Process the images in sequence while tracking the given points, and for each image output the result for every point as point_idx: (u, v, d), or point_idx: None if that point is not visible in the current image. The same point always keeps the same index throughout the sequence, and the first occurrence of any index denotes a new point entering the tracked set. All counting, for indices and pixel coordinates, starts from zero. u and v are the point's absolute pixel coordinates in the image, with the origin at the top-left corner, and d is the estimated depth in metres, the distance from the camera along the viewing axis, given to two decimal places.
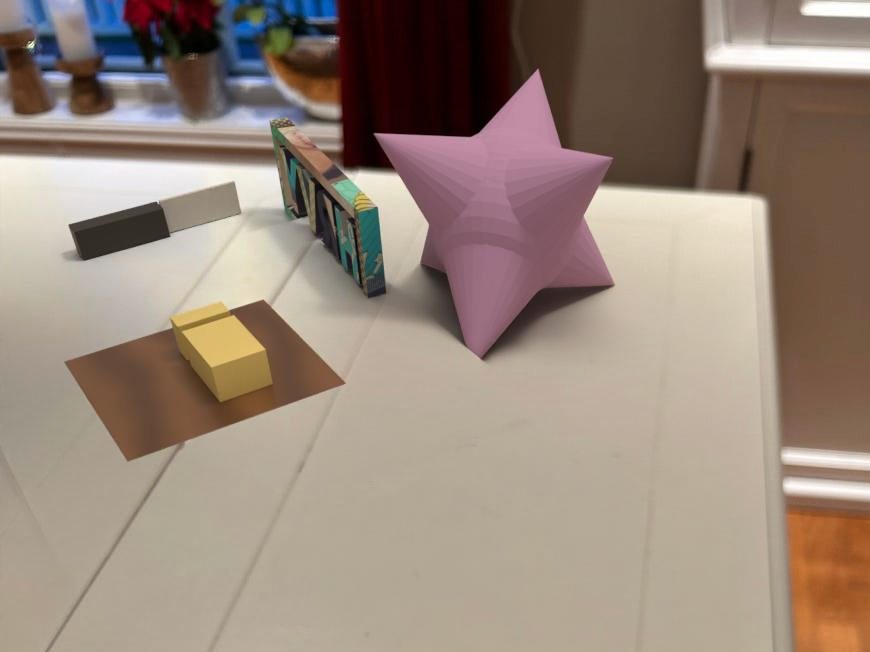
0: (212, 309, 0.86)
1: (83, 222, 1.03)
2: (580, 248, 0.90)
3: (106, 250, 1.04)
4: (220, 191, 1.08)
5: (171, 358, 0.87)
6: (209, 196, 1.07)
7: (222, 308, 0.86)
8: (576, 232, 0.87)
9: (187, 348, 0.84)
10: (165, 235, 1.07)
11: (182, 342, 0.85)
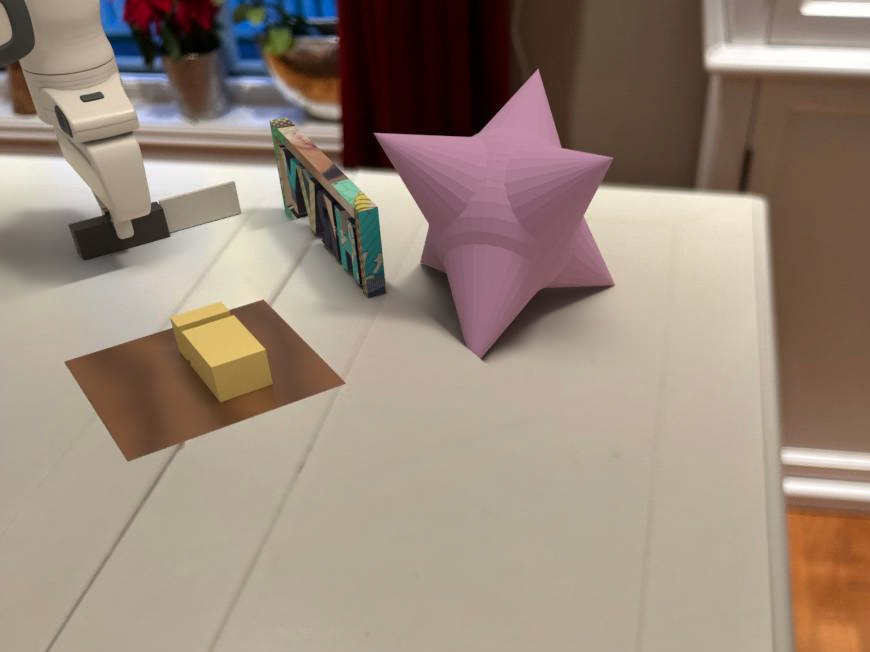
0: (212, 309, 0.86)
1: (83, 222, 1.03)
2: (580, 248, 0.90)
3: (106, 250, 1.04)
4: (220, 191, 1.08)
5: (171, 358, 0.87)
6: (209, 196, 1.07)
7: (222, 308, 0.86)
8: (576, 232, 0.87)
9: (187, 348, 0.84)
10: (165, 235, 1.07)
11: (182, 342, 0.85)
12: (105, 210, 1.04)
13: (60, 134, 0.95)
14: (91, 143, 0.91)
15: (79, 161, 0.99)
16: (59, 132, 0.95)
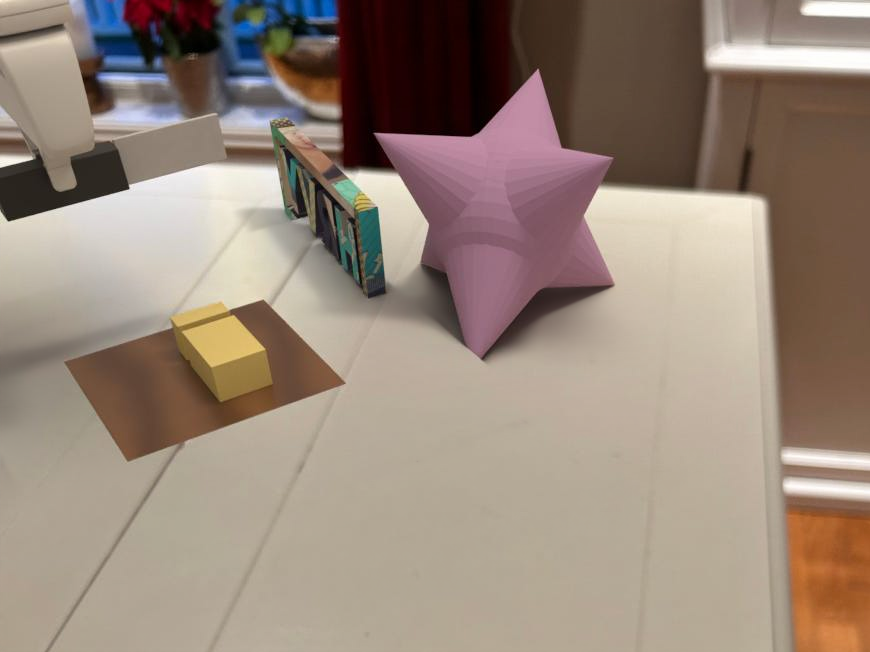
0: (212, 309, 0.86)
1: (6, 168, 0.74)
2: (580, 248, 0.90)
3: (40, 208, 0.75)
4: (197, 127, 0.79)
5: (171, 358, 0.87)
6: (182, 134, 0.78)
7: (222, 308, 0.86)
8: (576, 232, 0.87)
9: (187, 348, 0.84)
10: (122, 187, 0.78)
11: (182, 342, 0.85)
12: (36, 152, 0.75)
13: None
14: (2, 40, 0.61)
15: None
16: None
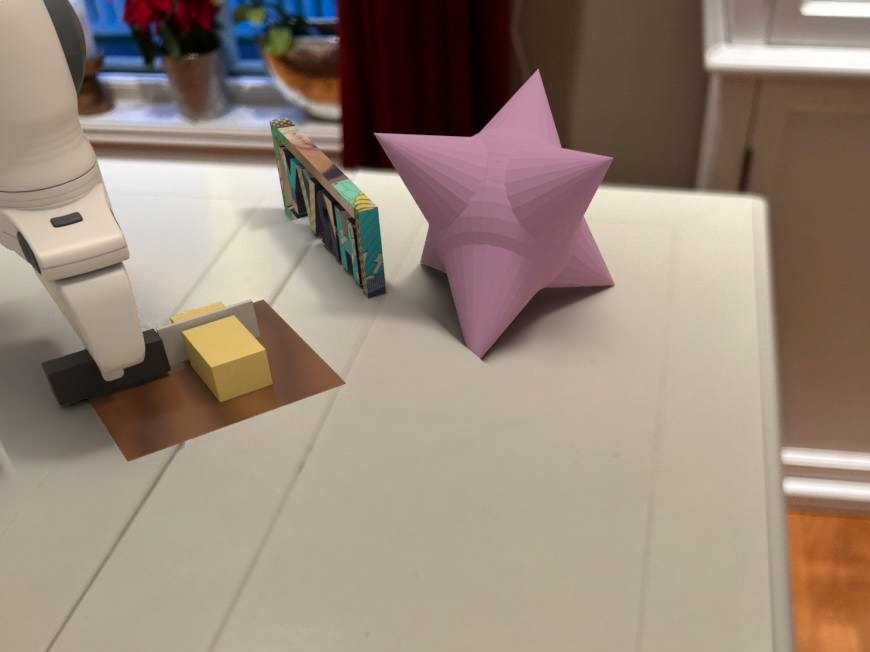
0: (212, 309, 0.86)
1: (60, 360, 0.81)
2: (580, 248, 0.90)
3: (89, 393, 0.82)
4: (234, 313, 0.86)
5: None
6: None
7: None
8: (576, 232, 0.87)
9: (187, 348, 0.84)
10: (164, 370, 0.84)
11: None
12: None
13: (27, 260, 0.73)
14: (66, 280, 0.68)
15: (53, 288, 0.77)
16: None
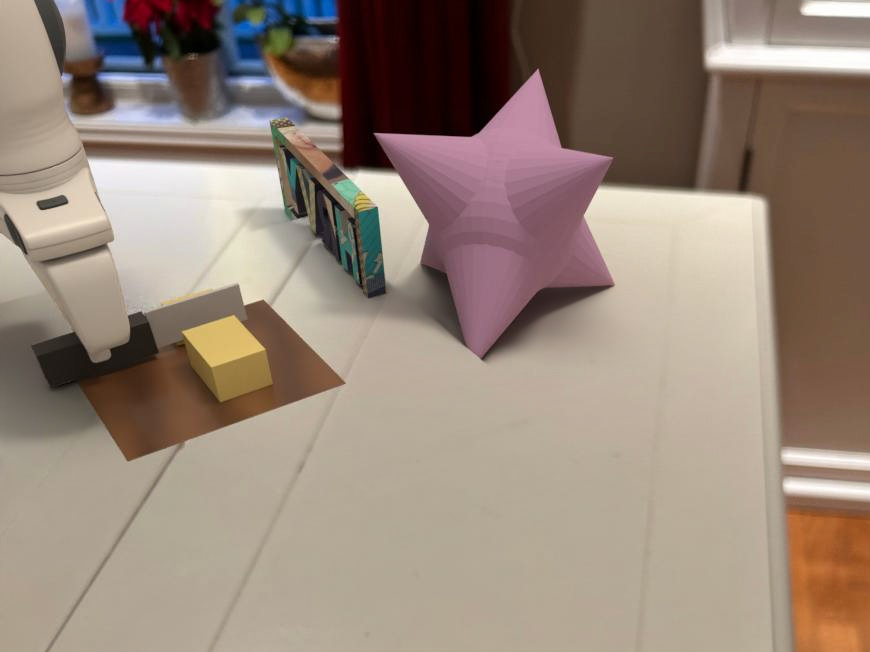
0: None
1: (49, 342, 0.83)
2: (580, 248, 0.90)
3: (78, 374, 0.84)
4: (221, 296, 0.87)
5: (171, 358, 0.87)
6: (207, 303, 0.87)
7: None
8: (576, 232, 0.87)
9: (187, 348, 0.84)
10: (152, 352, 0.86)
11: None
12: None
13: (15, 243, 0.75)
14: (52, 261, 0.70)
15: (41, 271, 0.79)
16: None
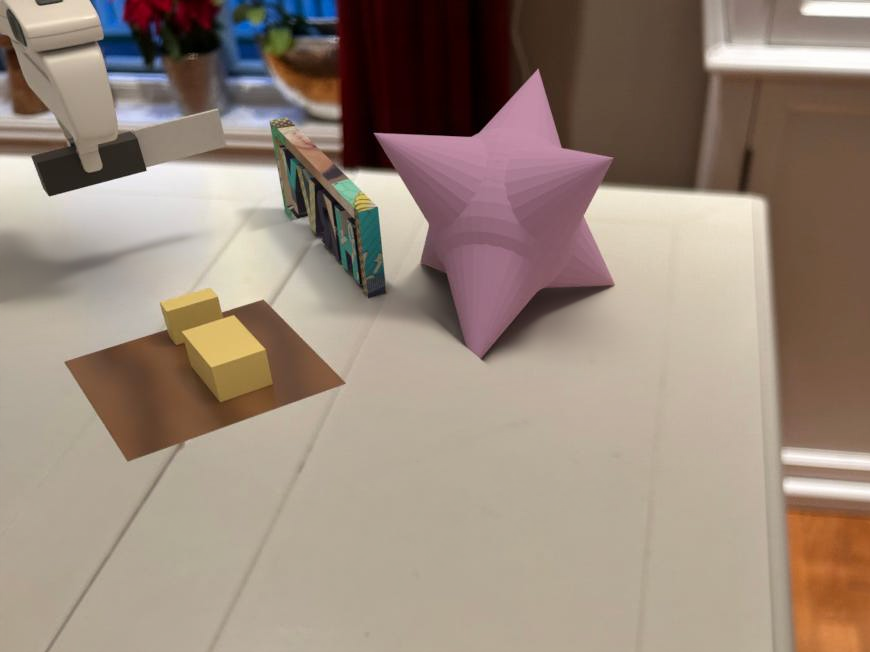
0: (201, 295, 0.88)
1: (48, 153, 0.92)
2: (580, 248, 0.90)
3: (74, 185, 0.93)
4: (202, 120, 0.97)
5: (171, 358, 0.87)
6: (190, 126, 0.96)
7: (210, 294, 0.88)
8: (576, 232, 0.87)
9: (187, 348, 0.84)
10: (141, 169, 0.96)
11: (171, 327, 0.87)
12: (71, 141, 0.93)
13: (16, 47, 0.84)
14: (48, 53, 0.80)
15: (40, 82, 0.88)
16: (15, 45, 0.84)
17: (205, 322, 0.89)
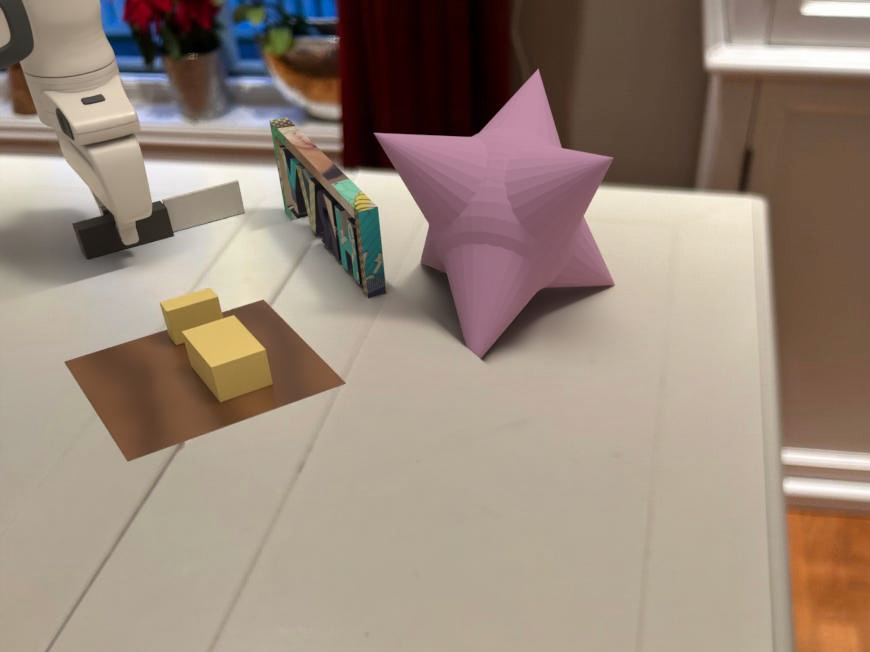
0: (201, 295, 0.88)
1: (87, 221, 1.03)
2: (580, 248, 0.90)
3: (110, 249, 1.04)
4: (224, 190, 1.08)
5: (171, 358, 0.87)
6: (212, 196, 1.08)
7: (210, 294, 0.88)
8: (576, 232, 0.87)
9: (187, 348, 0.84)
10: (169, 234, 1.07)
11: (171, 327, 0.87)
12: (103, 208, 1.05)
13: (61, 136, 0.95)
14: (93, 145, 0.91)
15: (80, 163, 0.99)
16: (60, 134, 0.95)
17: (205, 322, 0.89)
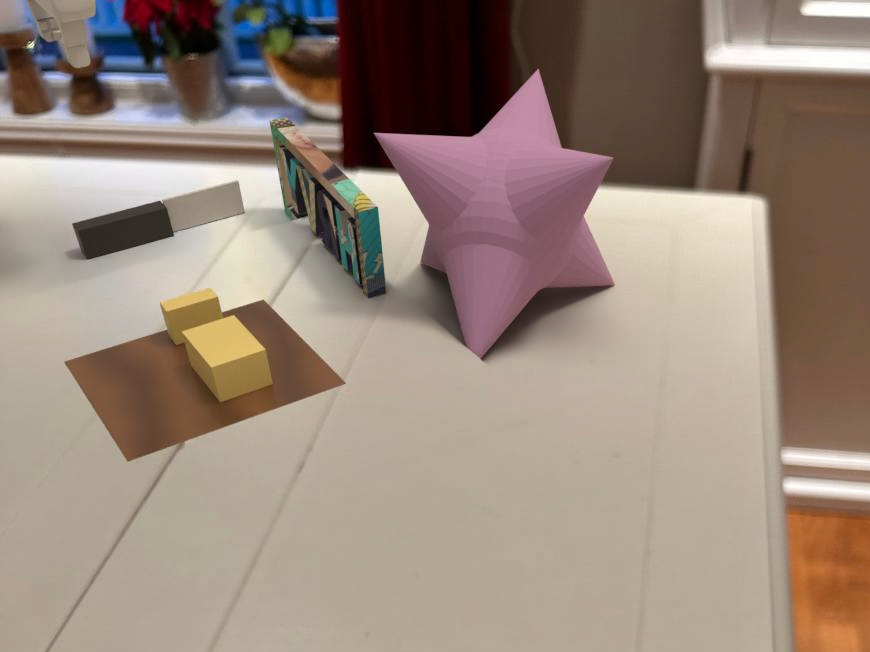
0: (201, 295, 0.88)
1: (87, 221, 1.03)
2: (580, 248, 0.90)
3: (110, 249, 1.04)
4: (224, 190, 1.08)
5: (171, 358, 0.87)
6: (212, 196, 1.08)
7: (210, 294, 0.88)
8: (576, 232, 0.87)
9: (187, 348, 0.84)
10: (169, 234, 1.07)
11: (171, 327, 0.87)
12: (40, 21, 0.93)
13: None
14: None
15: None
16: None
17: (205, 322, 0.89)
